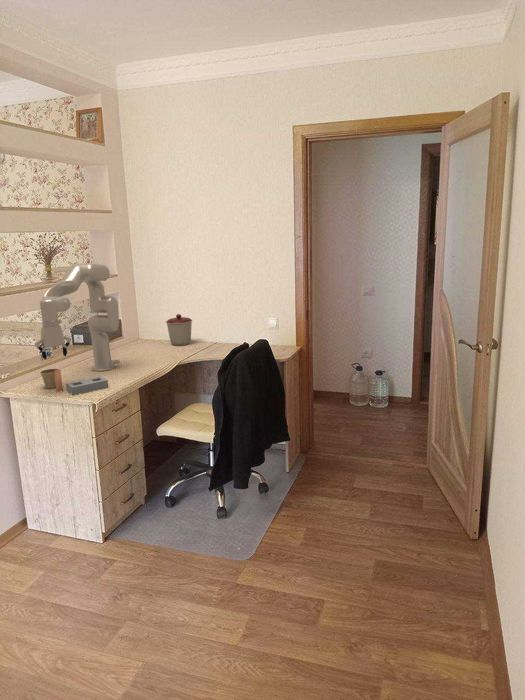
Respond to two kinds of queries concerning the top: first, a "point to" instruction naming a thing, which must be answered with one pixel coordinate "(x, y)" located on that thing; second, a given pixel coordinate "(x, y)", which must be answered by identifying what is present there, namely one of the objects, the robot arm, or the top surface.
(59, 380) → the peg
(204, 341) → the top surface
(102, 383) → the socket block
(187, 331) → the canister
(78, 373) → the top surface
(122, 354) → the top surface
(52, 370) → the flower pot
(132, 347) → the top surface
